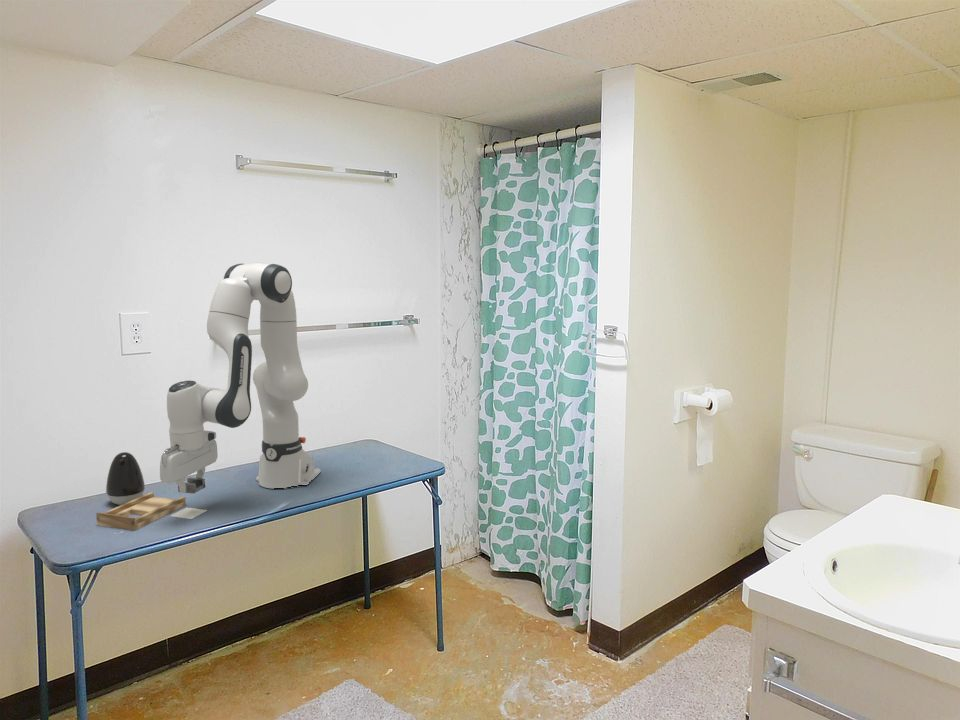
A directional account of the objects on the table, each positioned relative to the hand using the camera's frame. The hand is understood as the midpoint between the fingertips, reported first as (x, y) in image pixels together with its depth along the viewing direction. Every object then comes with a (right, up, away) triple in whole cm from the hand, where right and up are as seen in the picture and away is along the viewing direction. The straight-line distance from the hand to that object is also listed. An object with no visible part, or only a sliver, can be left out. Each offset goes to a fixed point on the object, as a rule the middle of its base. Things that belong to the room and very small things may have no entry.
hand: (191, 487), depth 196 cm
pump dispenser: (-24, -7, +11) cm, 27 cm away
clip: (0, -1, 0) cm, 1 cm away
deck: (-13, -8, -1) cm, 15 cm away
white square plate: (-1, -8, +1) cm, 8 cm away
